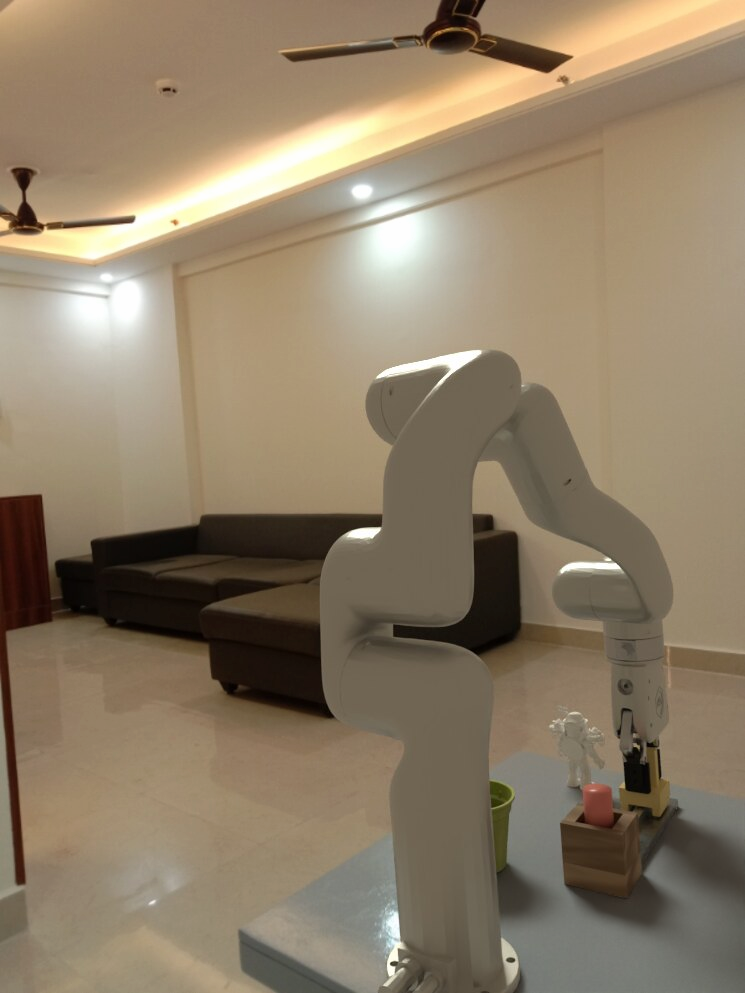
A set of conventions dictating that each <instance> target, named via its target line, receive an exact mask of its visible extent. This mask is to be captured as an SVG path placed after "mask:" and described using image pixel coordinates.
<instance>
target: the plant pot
mask: <svg viewBox="0 0 745 993" xmlns="http://www.w3.org/2000/svg"><path fill="white" fill-rule="evenodd" d="M489 780H490V797H491V810H492V823H493V835H494V848H495V862H496V874H497V873H500V872H501V871H502V870H504V869H505V867H506V865H507V859H508V858H507V856H508V843H509V842H508V841H509V824H510V822H509V821H510V812H511V811H512V804H513V802H514V800H515V799H516V798H515V797H516V793H515V790H514V788H513V787H511V786H510V785H509V784H507V783H505V782H502V781H499V780H494V779H489Z"/></svg>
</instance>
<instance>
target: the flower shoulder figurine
mask: <svg viewBox="0 0 745 993" xmlns="http://www.w3.org/2000/svg"><path fill="white" fill-rule="evenodd" d="M554 707H555V710H556V709H557V712H561V714H562V715H564V716H565V715H566V717H564V719H562V717H558V719H556V720H552V721H551V722H552V723H553V724H550V725H549V726H548V728H549V729H550V730H549V732H550V735H551V737H552V738H554V739H555V738H557V737H558V736H559V737H558V740H557V755H558V757H559V758H563V757H566V758H567V761H568V769H569V770H568V776H567V780H566V785H567V787H569V788H578V787H579V789H580V790H581V791H583V787H584V786H585V785H588V784H596V783H595V782H594V781H592V771H591V765H590V762H589V758H588V756H589V757H590V758H591V759H592V761H593V763H594V764H596V766H597V767H598V768H599V770H601V769H604V768H605V765H606V762H605V759H603V758H602V757H601V756H600V755H599V753H598V752H597V751H596V749H595V748H594V746H595V744H596V743H598V745H599V746H600V747H604V746H605V743H606V738H605V737H604V736H605V733H603V732H602V730H599V729H598V728H597V727H599V725H597V727H595V726H593V727H592V728H590V727H589V728H588V724H587V723H588V721H589V719H587V718H585V716H584V715H583V714H582V713H581V712H578V711H571V712H569V711H567V710H568V707H563V706H561V705H559V704H558V703H555V704H554ZM559 734H560V735H559ZM579 771H581V772H580V773H581V776H580V778H579Z"/></svg>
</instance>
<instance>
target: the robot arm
mask: <svg viewBox="0 0 745 993" xmlns="http://www.w3.org/2000/svg"><path fill="white" fill-rule="evenodd" d="M520 370H521V369H520V367H519V364H518V362H517V360H515V358H513V356H511V355H510V354H508V353H506V352H504V351H501V350H497V349H486V348H482V349H474V350H466V351H462V352H461V351H460V352H456V353H451V354H445V355H442V356H441V355H440V356H438V357H433V358H431V359H429V358H428V359H426V360H421V361H416V362H411V363H406V364H401V365H398V366H393V367H391V368H388V369H385V370H384V371H382V372H380V373H379V374H378V375H377V376H376V377H375V378H374V379H373V380H372V382H371V383H370V385H369V386H368V389H367V392H366V395H365V405H364V406H365V412H366V413H365V414H366V417H367V420H368V424H369V425H370V426H371V428H372V430H373V431H374V433H375V434H376V435H377V436H378V437H379V438H380V439H382V440H383V441H384V442H386V443H387V444H389V445H391V446H392V447H391V449H390V451H389V454H388V457H387V459H386V464H385V467H384V472H383V479H382V480H383V482H382V483H383V484H382V486H383V488H382V517H381V518H382V520H381V521H382V522H381V526H378V527H377V526H376V527H373V526H372V527H371V526H370V527H360V528H355V529H352V530H349V531H348V532H346V533H344V534H343V535H341V536H340V537H338V539H336V541H334V543H333V544H332V546H331V547H330V549H329V550H328V551H327V552H328V553H327V554H326V556H325V559H324V562H323V565H322V568H321V574H320V579H319V580H320V581H319V615H320V616H319V620H320V621H319V624H320V626H319V627H320V628H319V629H320V660H321V662H320V663H321V681H322V683H321V684H322V690H323V694H324V699H325V702H326V704H327V707H328V709H329V711H330V712H331V714H332V715H333V716H334V717H335V718H336V719H337V720H338V721H339V722H340V723H342V724H343V725H346V726H347V727H349V728H352V729H355V730H359V731H363V732H367V733H372V734H376V735H380V736H384V737H387V738H391V739H393V740H397V741H400V742H402V743H403V753H402V756H401V758H400V760H399V762H398V765H397V766H396V768H395V770H394V771H393V773H392V774H393V775H392V777H391V781H390V784H389V796H388V797H389V798H388V800H389V801H388V802H389V814H390V821H391V837H392V851H393V860H394V871H395V872H394V876H395V887H396V888H395V890H396V900H397V912H398V927H399V940H400V941H398V943H397V944H396V945H395V946H394V947H393V948H392V950H391V951H390V953H389V954H388V957H387V961H386V962H385V966H386V967H385V971H386V972H385V973H386V979H385V981H384V982H382V984H381V985H380V986H379V987H378V989H377V993H514V992H515V991H516V990H517V989H518V986H519V982H520V979H521V967H520V958H519V956H518V953H517V951H516V950H515V949H514V948H513V945H511V943H509V942H508V941H507V940H506V939H505V938H503V937H502V933H501V919H500V918H501V917H500V905H499V904H500V903H499V893H498V892H499V891H498V878H497V873H496V862H495V848H494V835H493V823H492V810H491V797H490V780H491V779H490V741H491V740H490V739H491V732H492V722H493V714H494V705H495V704H494V703H495V688H494V687H495V686H494V681H493V680H494V679H493V677H492V673H491V672H490V669H489V668H488V666H487V665H486V663H485V662H484V661H483V659H481V658H480V657H479V656H478V655H477V654H475V653H474V652H473V651H471V650H470V649H467V648H465V647H463V646H460V645H457V644H454V643H449V642H443V641H438V640H437V641H436V640H426V639H418V638H411V637H410V638H408V637H407V638H406V637H396V636H394V625H398V626H399V625H400V626H406V627H408V626H409V627H421V628H441V627H442V628H443V627H448V626H452V625H455V624H457V623H459V622H460V621H462V620H463V619H464V618H465V617H466V615H467V614H468V613H469V612H470V609H471V608H472V607H471V606H472V604H473V599H474V598H473V597H474V590H475V562H474V561H475V560H474V559H475V558H474V554H475V552H474V550H475V549H474V523H473V521H474V518H473V492H474V491H473V486H474V477H475V473H476V469H477V466H478V463H482V462H497V463H499V464H500V466H501V468H502V470H503V472H504V473H505V475H506V477H507V480H508V482H509V484H510V486H511V487H512V490H513V492H514V494H515V496H516V499H517V500H518V502H519V504H520V506H521V508H522V510H523V512H524V514H525V516H526V518H527V519H528V521H530V522H531V523H532V524H533V525H535V526H536V527H538V528H541V529H542V530H545V531H547V532H549V533H551V534H553V535H556V536H558V537H561V538H563V539H566V540H569V541H573V542H575V543H578V544H581V545H583V546H586V547H589V548H590V549H592V550H595V551H597V552H599V553H600V554H601V555H604V557H602V558H600V559H587V560H585V559H580V560H574V561H571V562H568V563H566V564H565V565H564V566H562V567H561V568H560V569H559V570H558V571H557V572H556V574H555V575H554V577H553V578H554V579H553V581H552V584H551V596H552V600H553V603H554V605H555V606H556V608H557V609H558V610H559V611H560V612H561V613H562V614H564V615H565V616H567V617H569V618H572V619H576V620H583V621H595V622H602V632H603V633H602V634H603V646H604V659H605V661H606V662H608V663H610V665H611V666H610V696H611V697H610V698H611V699H610V700H611V717H612V719H611V720H612V727H613V734H614V736H615V737H616V738H617V739H619V745H618V746H619V747H618V748H619V750H620V751H621V753H622V762H623V776H624V781H625V789H626V790H627V791H630V792H636V793H643V794H650V792H651V779H650V765H649V762H646V747H651V748H657V757H658V772H659V779H662V776H663V775H662V774H663V773H662V765H661V764H662V763H661V761H662V760H661V749H660V737H659V736H660V735H661V733H662V732H663V731H664V729H665V728H667V726H668V725H669V722H670V713H669V705H668V694H667V686H666V677H665V672H664V670H665V669H664V666H663V662H664V661H665V660H666V655H665V651H666V650H665V640H664V638H665V637H664V628H663V627H664V625H663V620H664V619H665V618H666V617H667V616H668V614H669V613H670V612H671V609H672V607H673V603H674V587H673V586H674V585H673V578H672V577H671V572H670V569H669V567H668V564H667V561H666V559H665V557H664V554H663V552H662V549H661V546H660V544H659V542H658V540H657V538H656V536H655V535H654V533H653V532H652V531H651V529H650V528H649V527H648V525H646V523H644V521H642V519H640V518H639V517H638V516H636V514H634V513H632V511H630V510H629V509H628V508H626V506H624V505H623V504H621V503H620V502H619V501H617V500H616V499H615V498H613V497H611V496H610V495H608V494H606V493H605V492H604V491H602V490H600V489H599V488H597V486H595V484H594V483H593V480H592V479H591V476H590V473H589V471H588V469H587V466H586V465H585V462H584V459H583V457H582V455H581V453H580V451H579V449H578V446H577V444H576V441H575V439H574V436H573V433H572V432H571V429H570V427H569V424H568V423H567V420H566V418H565V415H564V414H563V411H562V409H561V406H560V405H559V402H558V400H557V398H556V397H555V395H554V394H553V392H552V391H551V390H550V389H548V388H547V387H546V386H544V385H543V384H539V383H536V382H529V381H527V382H526V381H525V382H524V381H522V375H521V374H522V373H521V371H520ZM634 734H635V736H634ZM635 744H636V746H640V752H639V750H638V748H637V747H634V745H635Z"/></svg>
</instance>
